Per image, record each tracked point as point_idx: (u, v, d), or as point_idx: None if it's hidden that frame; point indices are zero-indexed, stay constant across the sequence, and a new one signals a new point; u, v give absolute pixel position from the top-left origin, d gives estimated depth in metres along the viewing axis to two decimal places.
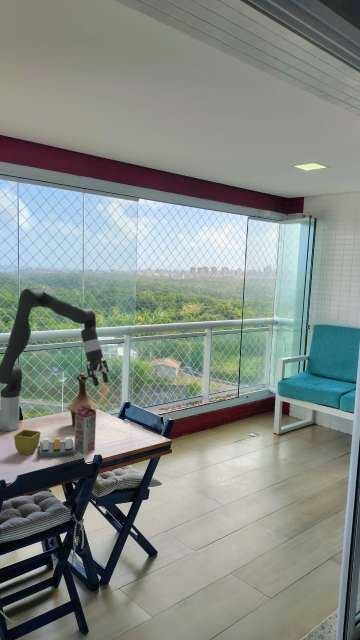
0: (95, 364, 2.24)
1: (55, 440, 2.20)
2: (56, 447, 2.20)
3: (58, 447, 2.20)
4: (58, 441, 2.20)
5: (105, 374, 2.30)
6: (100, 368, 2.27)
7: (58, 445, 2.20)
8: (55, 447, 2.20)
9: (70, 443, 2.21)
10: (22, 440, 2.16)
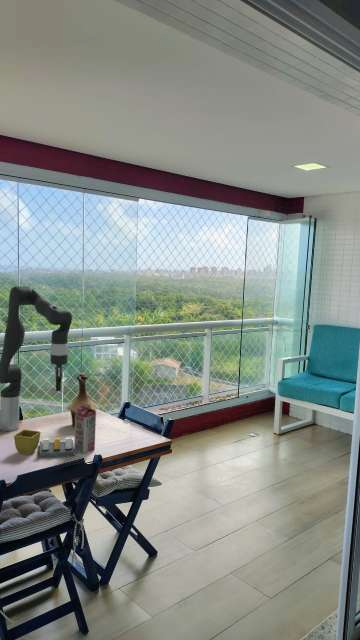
0: (61, 369, 2.19)
1: (55, 440, 2.20)
2: (56, 447, 2.20)
3: (58, 447, 2.20)
4: (58, 441, 2.20)
5: None
6: (61, 372, 2.23)
7: (58, 445, 2.20)
8: (55, 447, 2.20)
9: (70, 443, 2.21)
10: (22, 440, 2.16)
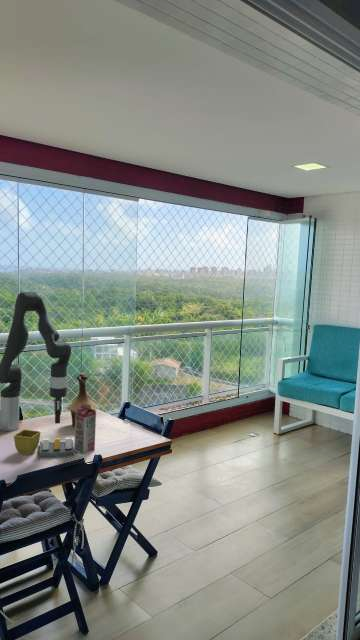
0: (60, 401, 2.21)
1: (55, 440, 2.20)
2: (56, 447, 2.20)
3: (58, 447, 2.20)
4: (58, 441, 2.20)
5: None
6: None
7: (58, 445, 2.20)
8: (55, 447, 2.20)
9: (70, 443, 2.21)
10: (22, 440, 2.16)
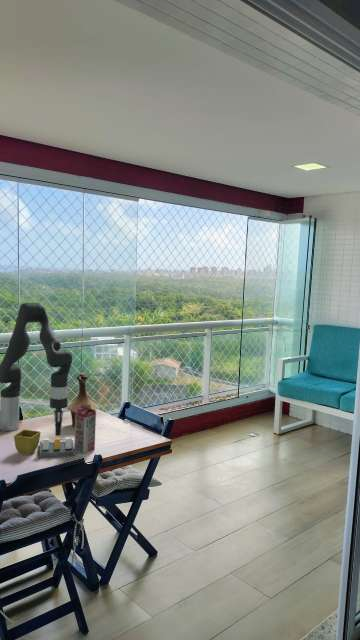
0: (61, 413, 2.10)
1: (55, 440, 2.20)
2: (56, 447, 2.20)
3: (58, 447, 2.20)
4: (58, 441, 2.20)
5: None
6: None
7: (58, 445, 2.20)
8: (55, 447, 2.20)
9: (70, 443, 2.21)
10: (22, 440, 2.16)
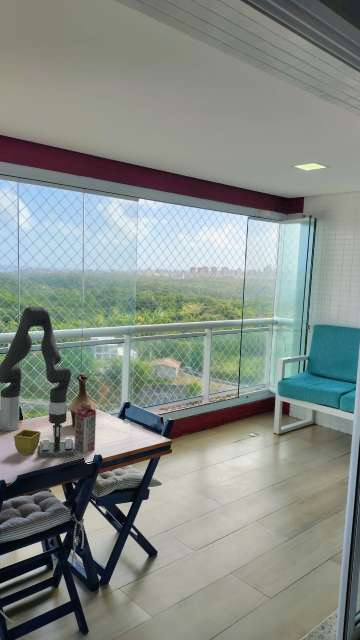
0: (60, 427, 2.15)
1: None
2: None
3: None
4: None
5: None
6: None
7: None
8: None
9: (70, 443, 2.21)
10: (22, 440, 2.16)
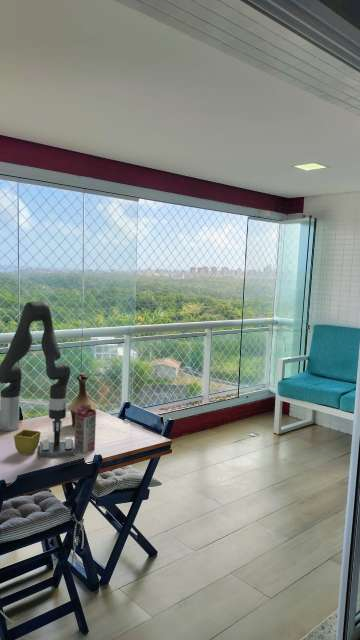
0: (59, 423, 2.20)
1: None
2: None
3: None
4: None
5: None
6: None
7: None
8: None
9: (70, 443, 2.21)
10: (22, 440, 2.16)
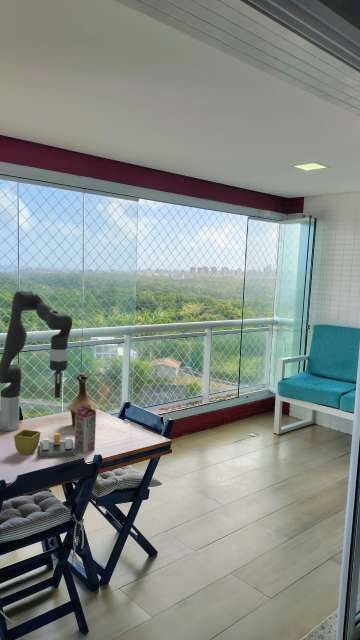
0: (60, 375, 2.13)
1: (55, 436, 2.25)
2: (56, 442, 2.26)
3: (58, 442, 2.26)
4: (57, 437, 2.26)
5: None
6: None
7: (58, 440, 2.26)
8: (55, 442, 2.26)
9: (70, 443, 2.21)
10: (22, 440, 2.16)
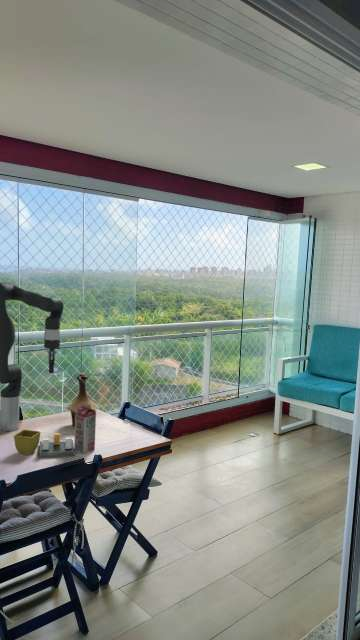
0: (54, 352, 2.37)
1: (55, 436, 2.25)
2: (56, 442, 2.26)
3: (58, 442, 2.26)
4: (57, 437, 2.26)
5: None
6: None
7: (58, 440, 2.26)
8: (55, 442, 2.26)
9: (70, 443, 2.21)
10: (22, 440, 2.16)
